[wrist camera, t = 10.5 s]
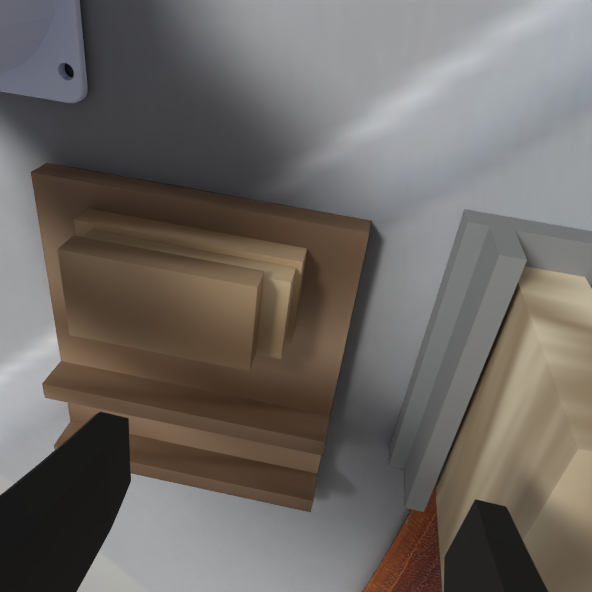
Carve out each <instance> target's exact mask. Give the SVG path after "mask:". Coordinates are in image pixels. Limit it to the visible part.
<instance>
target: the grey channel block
mask: <svg viewBox="0 0 592 592" xmlns="http://www.w3.org/2000/svg"><path fill="white" fill-rule="evenodd" d="M524 266H526V267H532V268H537V269H543V270H549V271H554V272H560V273H565V274H571V275H576V276H582V277H585V278H586V279H587V281H588V283H589V285H590V286H591V288H592V232H590V231H584V230H579V229H573V228H567V227H561V226H556V225H550V224H544V223H538V222H533V221H527V220H521V219H516V218H510V217H504V216H498V215H493V214H487V213H481V212H475V211H470V210H464V213H463V216H462V219H461V223H460V226H459V229H458V232H457V235H456V238H455V242H454V245H453V248H452V251H451V254H450V257H449V260H448V264H447V267H446V270H445V273H444V276H443V279H442V283H441V286H440V289H439V292H438V295H437V298H436V301H435V305H434V308H433V311H432V314H431V317H430V320H429V324H428V327H427V330H426V333H425V336H424V339H423V342H422V346H421V349H420V352H419V355H418V358H417V361H416V365H415V368H414V371H413V374H412V377H411V380H410V384H409V387H408V390H407V393H406V396H405V399H404V402H403V406H402V409H401V412H400V415H399V418H398V421H397V425H396V428H395V431H394V434H393V437H392V440H391V443H390V447H389V466H391V467H396V468H401V469H404V501H405V508H407V509H412V510H417V511H421V512H424V511H425V508H426V506H427V503H428V501H429V498H430V496H431V494H432V491H433V489H434V486H435V484H436V481H437V479H438V476H439V474H440V472H441V469H442V467H443V464H444V462H445V459H446V457H447V454H448V452H449V450H450V447H451V445H452V442H453V440H454V437H455V435H456V432H457V430H458V428H459V425H460V423H461V420H462V418H463V415H464V413H465V411H466V408H467V406H468V403H469V401H470V398H471V396H472V393H473V391H474V389H475V386H476V384H477V381H478V379H479V376H480V374H481V371H482V369H483V367H484V364H485V362H486V359H487V357H488V354H489V352H490V349H491V347H492V345H493V342H494V340H495V337H496V335H497V332H498V330H499V327H500V325H501V323H502V320H503V318H504V315H505V313H506V310H507V308H508V306H509V303H510V301H511V298H512V296H513V293H514V291H515V288H516V286H517V284H518V281H519V279H520V276H521V274H522V271H523V269H524Z"/></svg>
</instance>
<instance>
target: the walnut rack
mask: <svg viewBox="0 0 592 592" xmlns="http://www.w3.org/2000/svg"><path fill="white" fill-rule="evenodd" d="M31 175H32V182H33V188H34V194H35V201H36V207H37V213H38V219H39V226H40V232H41V238H42V245H43V251H44V257H45V263H46V270H47V276H48V282H49V289H50V295H51V301H52V307H53V314H54V320H55V326H56V333H57V339H58V345H59V351H60V358H61V362H60V363H59V364H58V365H57V366H56V368H55V369H54V370H53V371H52V372H51V374H50V375H49V376H48V377H47V379H46V380H45V381H44V382H43V383H42V385H43V390H44V395H45V398H49V399H54V400H59V401H64V402H68V408H69V414H70V420H71V422H70V423H69V424H68V426H67V427H66V429H65V430H64V432H63V433H62V435H61V436H60V437H59V439H58V440H57V442H56V443H55V445H54V448H55V450H56V449H57V448H58V447H59V446H61V445H62V444H63V443H64V442H65V441H66V440H67V439H69V438H70V437H71V436H72V435H73V434H74V433H75V432H77V431H78V430H79V429H80V428H81V427H82V426H83V425H84V424H85V423H87V422H88V421H89V420H90V419H91V418H92V417H93V416H94V415H95V414H97V413H99V412H104V413H109V414H113V415H117V416H122V417H126V418H129V444H130V472H131V473H133V474H137V475H142V476H146V477H151V478H156V479H160V480H165V481H169V482H174V483H179V484H183V485H188V486H192V487H197V488H202V489H206V490H211V491H215V492H220V493H225V494H229V495H234V496H238V497H243V498H248V499H252V500H257V501H262V502H266V503H271V504H275V505H280V506H285V507H289V508H294V509H298V510H303V511H308V512H311V508H312V504H313V498H314V492H315V485H316V479H317V473H318V468H319V464H320V459H321V456H323V453H324V449H325V444H326V438H327V432H328V425H329V418H330V413H331V408H332V404H333V399H334V394H335V390H336V385H337V381H338V376H339V371H340V367H341V362H342V358H343V353H344V348H345V344H346V339H347V334H348V330H349V325H350V321H351V316H352V311H353V307H354V302H355V298H356V293H357V288H358V284H359V279H360V274H361V270H362V265H363V261H364V256H365V251H366V247H367V242H368V238H369V233H370V223H371V221H369V220H364V219H358V218H353V217H347V216H341V215H336V214H330V213H324V212H319V211H313V210H308V209H302V208H296V207H291V206H285V205H279V204H274V203H268V202H263V201H257V200H251V199H246V198H240V197H235V196H229V195H223V194H218V193H212V192H206V191H201V190H195V189H190V188H184V187H178V186H173V185H167V184H161V183H156V182H150V181H145V180H139V179H133V178H128V177H122V176H117V175H111V174H105V173H100V172H94V171H88V170H83V169H77V168H72V167H66V166H60V165H55V164H49V163H46V164H44V165H42V166H41V167H39V168H37V169H36V170H34V171H32V172H31ZM88 208H89V209H94V210H100V211H105V212H111V213H116V214H121V215H127V216H132V217H138V218H143V219H149V220H154V221H160V222H165V223H171V224H176V225H182V226H187V227H192V228H198V229H203V230H209V231H214V232H220V233H225V234H231V235H236V236H242V237H247V238H253V239H258V240H264V241H269V242H274V243H280V244H285V245H291V246H296V247H302V248H307V253H306V259H305V266H304V273H303V280H302V286H301V293H300V300H299V307H298V313H297V320H296V327H295V331H294V335H293V338H292V342H291V344H288V343H285V346H284V350H283V353H282V357H281V359H279V358H273V357H268V356H263V355H258V354H256V355H255V357H254V360H253V363H252V366H251V369H250V371H246V370H241V369H236V368H231V367H226V366H221V365H216V364H211V363H206V362H201V361H196V360H191V359H186V358H181V357H176V356H171V355H166V354H161V353H156V352H151V351H146V350H141V349H136V348H131V347H126V346H121V345H116V344H111V343H106V342H101V341H96V340H91V339H86V338H81V337H76V336H71V335H69V328H68V321H67V314H66V307H65V300H64V293H63V286H62V279H61V272H60V265H59V258H58V251H57V249H58V248H59V247H60V246H62V245H63V244H64V243H65V242H66V241H67V240H68V239H70V238H71V237H72V236H73V235H75V236H76V232H75V224H74V220H75V219H76V218H77V217H78V216H79V215H81V214H82V213H83V212H84V211H85V210H87V209H88Z"/></svg>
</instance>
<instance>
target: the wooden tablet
mask: <svg viewBox="0 0 592 592" xmlns="http://www.w3.org/2000/svg"><path fill="white" fill-rule="evenodd" d="M362 592H442V579H441V564H440V549H439V534H438V520H437V505H436V490H435V486H434V489H433V491H432V494H431V496H430V498H429V501H428V503H427V506H426V508H425V511H424V512H421V511H417V510H412V509H411V511H410V513H409V515H408V517H407V518H406V520H405V522H404V524H403V525H402V527H401V529H400V532H399V533H398V535H397V537H396V538H395V540H394V541H393V543H392V545H391V547H390V549H389V550H388V551H387V553H386V555H385V556H384V558H383V560H382V562H381V563H380V565H379V566H378V568H377V569H376V571H375V572H374V574H373V576H372V578H371V579H370V581H369V582H368V584H367V585H366V587H365V588H364V590H363V591H362Z"/></svg>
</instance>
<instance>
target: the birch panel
mask: <svg viewBox="0 0 592 592" xmlns="http://www.w3.org/2000/svg"><path fill="white" fill-rule="evenodd" d="M435 490H436V505H437V520H438V534H439V549H440V564H441V579H442V592H444V557H445V555H446V553H447V551H448V549H449V547H450V545H451V544H452V542H453V540H454V538H455V536H456V534H457V532H458V530H459V529H460V527H461V525H462V523H463V521H464V519H465V517H466V515H467V514H468V512H469V510H470V508H471V506H472V504H473V502H474V500H475V499H476V500H481V501H485V502H489V503H494V504H498V505H502V506H506V508H507V509H508V511H509V512H510V514H511V517H512V519H513V521H514V523H515V525H516V527H517V529H518V531H519V533H520V535H521V537H522V540H523V542H524V544H525V546H526V548H527V550H528V552H529V554H530V556H531V558H532V560H533V562H534V564H535V566H536V568H537V570H538V572H539V574H540V576H541V578H542V580H543V582H544V584H545V586H546V588H547V590H548V592H592V288H591V286H590V285H589V283H588V281H587V279H586V278H585V277H582V276H576V275H571V274H565V273H560V272H554V271H549V270H543V269H537V268H532V267H526V266H524V269H523V271H522V274H521V276H520V279H519V281H518V284H517V286H516V288H515V291H514V293H513V296H512V298H511V301H510V303H509V306H508V308H507V310H506V313H505V315H504V318H503V320H502V323H501V325H500V327H499V330H498V332H497V335H496V337H495V340H494V342H493V345H492V347H491V349H490V352H489V354H488V357H487V359H486V362H485V364H484V367H483V369H482V371H481V374H480V376H479V379H478V381H477V384H476V386H475V389H474V391H473V393H472V396H471V398H470V401H469V403H468V406H467V408H466V411H465V413H464V415H463V418H462V420H461V423H460V425H459V428H458V430H457V432H456V435H455V437H454V440H453V442H452V445H451V447H450V450H449V452H448V454H447V457H446V459H445V462H444V464H443V467H442V469H441V472H440V474H439V476H438V479H437V481H436V484H435Z"/></svg>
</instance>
